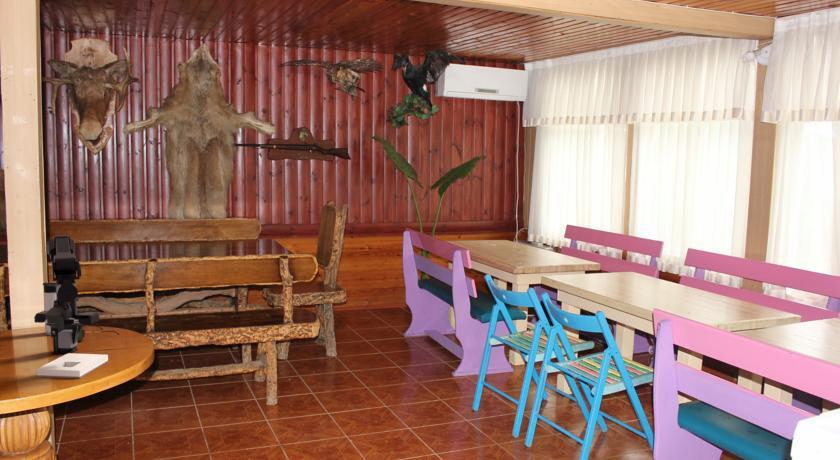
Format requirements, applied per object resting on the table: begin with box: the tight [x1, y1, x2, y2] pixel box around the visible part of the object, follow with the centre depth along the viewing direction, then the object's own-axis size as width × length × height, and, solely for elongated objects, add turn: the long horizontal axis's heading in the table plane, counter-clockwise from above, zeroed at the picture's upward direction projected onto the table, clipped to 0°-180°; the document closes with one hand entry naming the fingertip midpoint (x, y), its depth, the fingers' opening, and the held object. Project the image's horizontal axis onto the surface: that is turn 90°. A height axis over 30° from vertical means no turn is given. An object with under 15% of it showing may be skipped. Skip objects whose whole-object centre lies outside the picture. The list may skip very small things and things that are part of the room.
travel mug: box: [42, 282, 56, 336], centre depth 276 cm, size 6×7×20 cm
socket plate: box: [36, 352, 109, 379], centre depth 233 cm, size 14×18×2 cm
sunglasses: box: [77, 324, 120, 342], centre depth 275 cm, size 14×15×5 cm
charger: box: [58, 330, 78, 348], centre depth 229 cm, size 4×4×5 cm
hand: (67, 343), depth 229 cm, fingers closed on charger, 4 cm apart
